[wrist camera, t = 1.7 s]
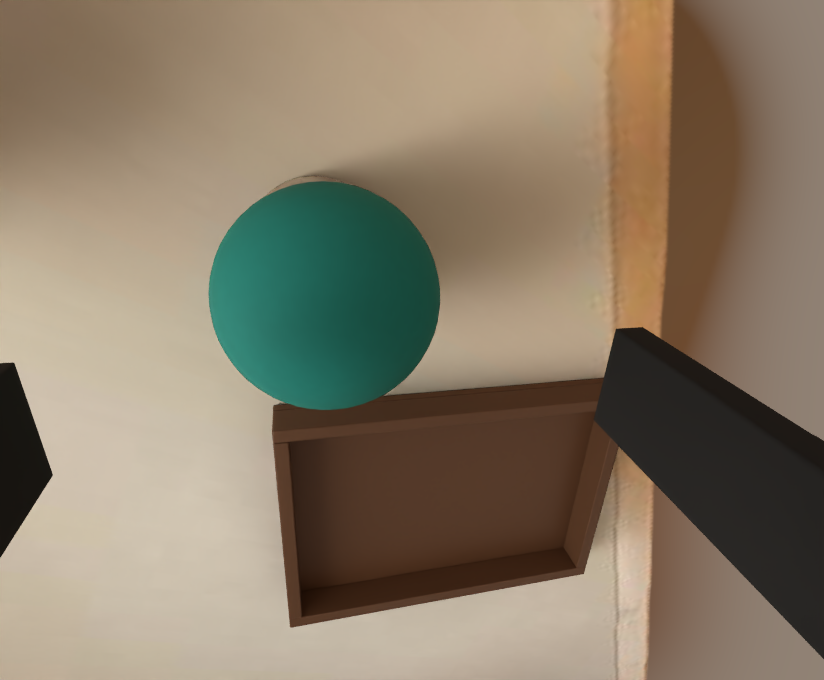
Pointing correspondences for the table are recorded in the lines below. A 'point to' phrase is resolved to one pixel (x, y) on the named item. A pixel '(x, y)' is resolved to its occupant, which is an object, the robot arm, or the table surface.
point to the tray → (437, 495)
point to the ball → (324, 295)
